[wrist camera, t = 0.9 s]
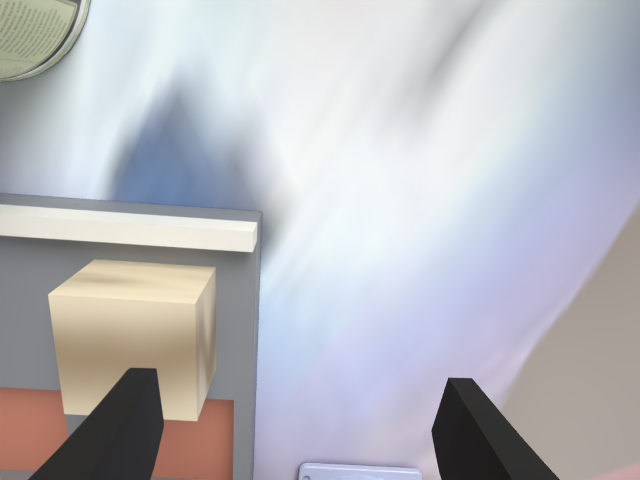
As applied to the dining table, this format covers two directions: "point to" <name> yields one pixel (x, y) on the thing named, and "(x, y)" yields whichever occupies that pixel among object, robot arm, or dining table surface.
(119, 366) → the maple block
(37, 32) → the coffee can
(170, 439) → the board
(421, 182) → the dining table surface
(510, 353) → the dining table surface
